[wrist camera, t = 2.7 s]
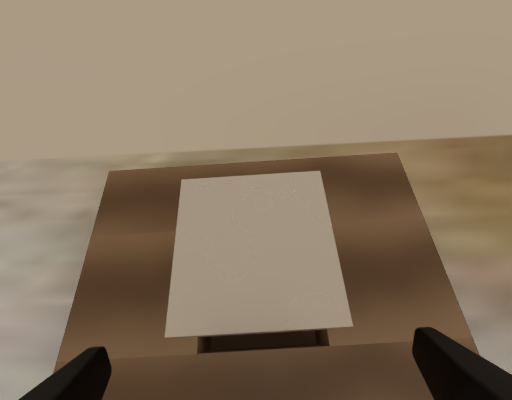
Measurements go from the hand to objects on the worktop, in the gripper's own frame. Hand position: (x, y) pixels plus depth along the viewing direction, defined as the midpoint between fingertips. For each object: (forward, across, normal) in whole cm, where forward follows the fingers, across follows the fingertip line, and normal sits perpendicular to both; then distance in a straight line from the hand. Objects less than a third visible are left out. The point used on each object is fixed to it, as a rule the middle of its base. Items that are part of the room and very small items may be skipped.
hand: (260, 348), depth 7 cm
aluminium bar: (+8, 0, +4) cm, 9 cm away
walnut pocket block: (+10, 0, +6) cm, 11 cm away
